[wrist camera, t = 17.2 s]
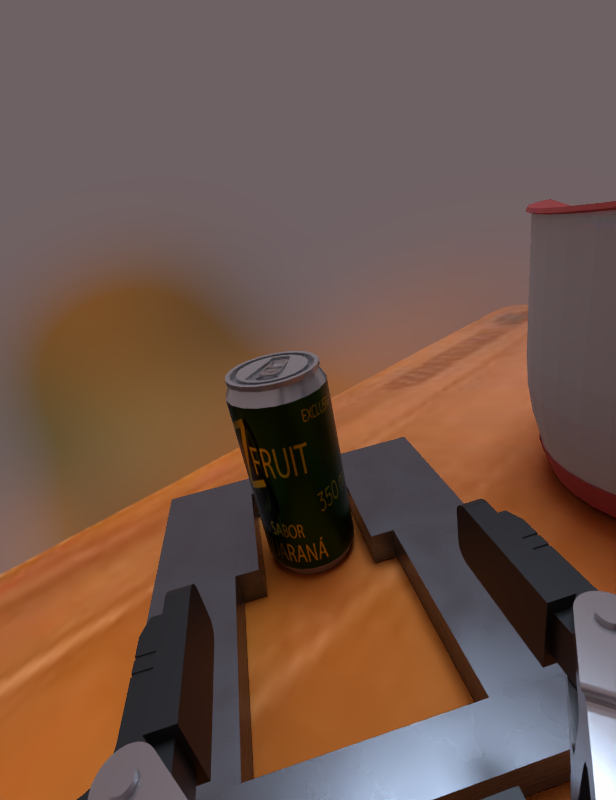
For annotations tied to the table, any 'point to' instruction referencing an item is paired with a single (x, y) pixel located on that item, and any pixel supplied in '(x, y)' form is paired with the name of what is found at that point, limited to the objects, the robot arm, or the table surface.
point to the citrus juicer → (575, 344)
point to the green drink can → (292, 458)
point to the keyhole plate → (449, 612)
